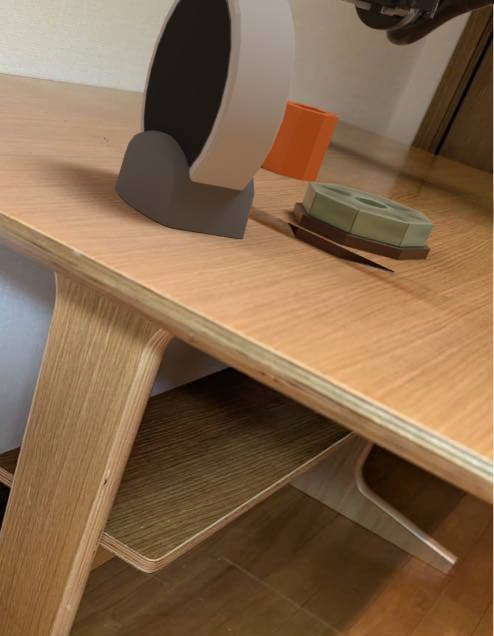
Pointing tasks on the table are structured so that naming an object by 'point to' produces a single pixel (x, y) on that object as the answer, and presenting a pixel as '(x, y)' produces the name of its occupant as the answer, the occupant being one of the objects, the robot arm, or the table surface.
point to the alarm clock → (210, 113)
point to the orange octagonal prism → (301, 142)
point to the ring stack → (360, 224)
